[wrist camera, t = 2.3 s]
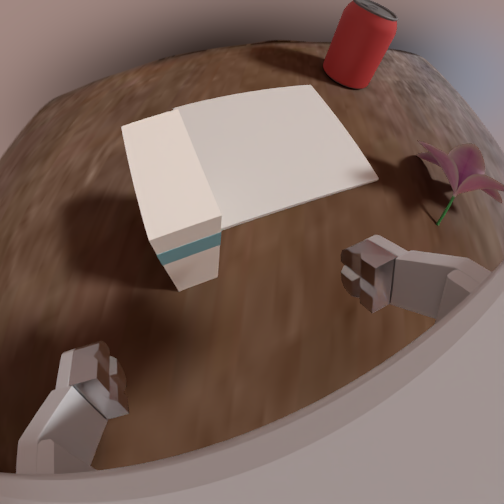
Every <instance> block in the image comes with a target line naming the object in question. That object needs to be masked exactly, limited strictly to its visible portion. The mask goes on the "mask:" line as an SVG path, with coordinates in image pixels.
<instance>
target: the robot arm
mask: <svg viewBox="0 0 504 504" xmlns="http://www.w3.org/2000/svg"><path fill="white" fill-rule="evenodd" d="M341 262H342V263H343V264H344V267H343V269H342V271H341V280H342V283H343V286H344V288H345V289H346V291H347V292H348V293H349V294H350V295H351V296H354V297H359V299H360V304H362V305H363V306H364V307H365V308H366V309H367V310H369V311H370V312H371V313H373V312H375V311H377V310H379V309H381V308H382V307H384V306H386V305H388V304H391V305H394V306H397V307H400V308H403V309H407V310H410V311H413V312H416V313H419V314H422V315H425V316H429V317H432V318H435V319H436V321H435V324H434V325H433V326H432V327H431V328H430V329H428V330H427V331H426V332H425V333H423V334H422V335H421V336H419V337H418V338H417V339H415V340H414V341H413V342H411V343H410V344H409V345H407V346H406V347H404V348H403V349H402V350H400V351H399V352H397V353H396V354H394V355H393V356H392V357H390V358H389V359H387V360H386V361H384V362H383V363H381V364H380V365H378V366H377V367H375V368H373V369H372V370H370V371H369V372H367V373H366V374H364V375H362V376H361V377H359V378H357V379H356V380H354V381H352V382H351V383H349V384H347V385H346V386H344V387H342V388H340V389H339V390H337V391H335V392H333V393H331V394H329V395H328V396H326V397H324V398H322V399H320V400H318V401H316V402H314V403H312V404H310V405H308V406H306V407H304V408H302V409H300V410H298V411H296V412H294V413H292V414H290V415H288V416H285V417H283V418H281V419H279V420H277V421H274V422H272V423H270V424H267V425H265V426H263V427H260V428H258V429H255V430H253V431H250V432H248V433H245V434H242V435H240V436H237V437H234V438H232V439H229V440H226V441H223V442H220V443H217V444H214V445H211V446H208V447H205V448H201V449H198V450H195V451H191V452H188V453H184V454H181V455H177V456H173V457H169V458H165V459H161V460H156V461H152V462H147V463H142V464H137V465H132V466H126V467H120V468H114V469H107V470H99V471H98V470H96V469H94V468H93V467H91V466H90V465H91V462H92V459H93V457H94V454H95V451H96V449H97V446H98V444H99V441H100V438H101V436H102V433H103V431H104V428H105V426H106V423H107V419H111V418H115V417H119V416H122V415H126V414H129V405H128V396H127V395H126V394H125V393H124V390H125V388H126V387H127V381H126V376H125V373H124V370H123V368H122V366H121V364H120V363H119V361H118V360H117V359H116V358H114V357H112V356H110V349H109V347H108V346H107V345H106V343H105V342H103V341H98V342H95V343H92V344H88V345H85V346H82V347H78V348H76V349H72V350H69V351H65V352H64V353H62V355H61V360H60V365H59V371H58V376H57V383H56V389H55V390H52V391H51V393H50V394H49V395H48V397H47V398H46V400H45V401H44V403H43V404H42V406H41V407H40V409H39V410H38V411H37V413H36V414H35V416H34V417H33V419H32V420H31V422H30V424H29V425H28V427H27V428H26V430H25V431H24V433H23V434H22V436H21V438H20V439H19V441H18V450H17V463H16V474H15V473H2V472H0V504H504V260H503V261H502V262H501V263H500V264H499V265H498V266H497V267H496V269H495V270H494V271H493V272H490V271H489V270H487V269H486V268H484V267H482V266H481V265H479V264H477V263H476V262H474V261H472V260H470V259H469V258H464V257H457V256H450V255H443V254H435V253H428V252H421V251H413V250H411V251H409V252H408V251H406V250H405V249H403V248H401V247H399V246H398V245H396V244H394V243H392V242H390V241H389V240H387V239H385V238H383V237H381V236H380V235H374V236H372V237H370V238H368V239H365V240H364V241H362V242H360V243H358V244H355V245H353V246H351V247H348V248H346V249H344V250H342V252H341Z"/></svg>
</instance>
